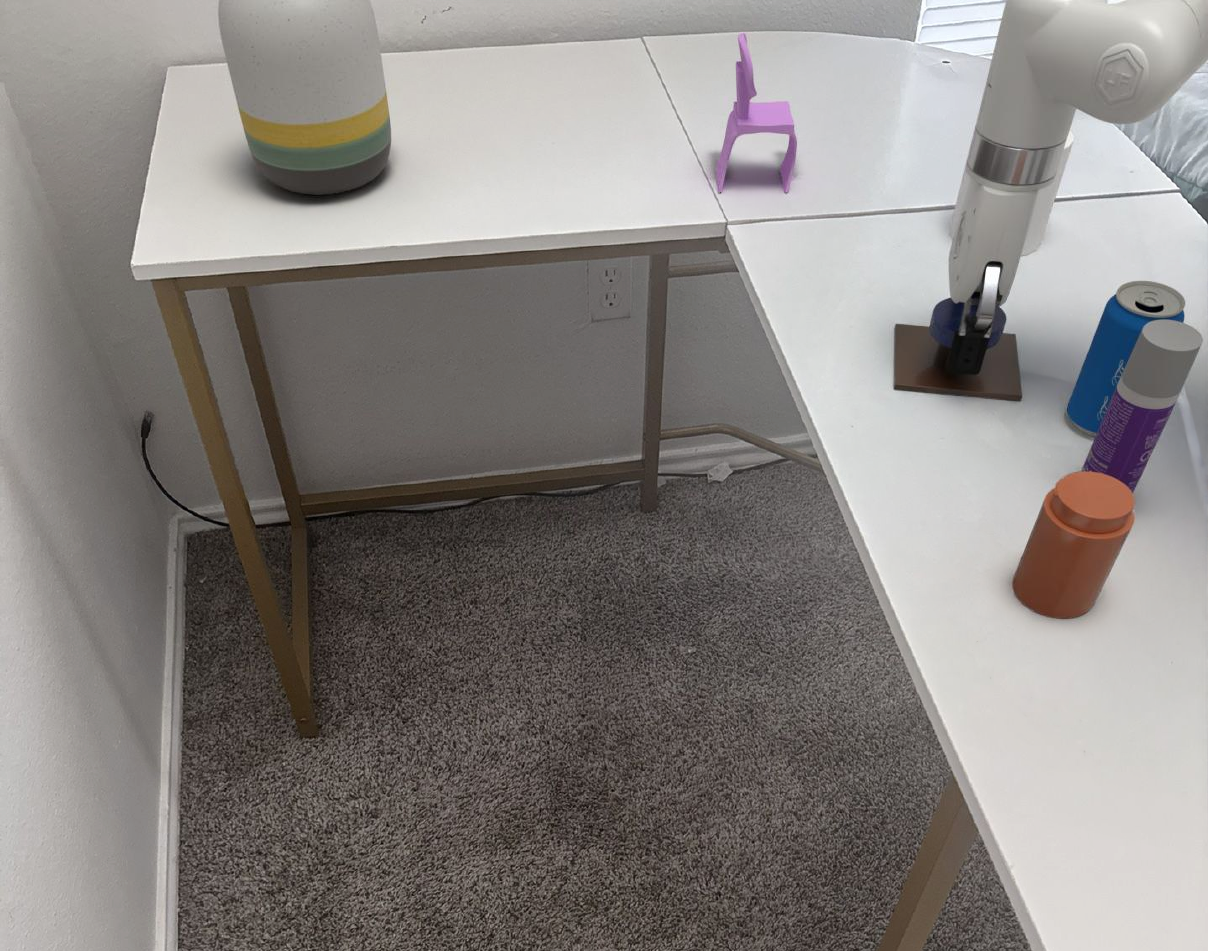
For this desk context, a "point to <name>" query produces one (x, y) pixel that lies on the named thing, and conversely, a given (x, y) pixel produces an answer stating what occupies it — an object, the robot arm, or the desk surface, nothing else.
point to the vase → (309, 90)
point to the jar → (1074, 544)
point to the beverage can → (1118, 346)
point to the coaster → (926, 372)
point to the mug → (1040, 209)
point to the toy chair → (755, 119)
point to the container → (1143, 400)
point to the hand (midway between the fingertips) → (960, 349)
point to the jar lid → (949, 320)
